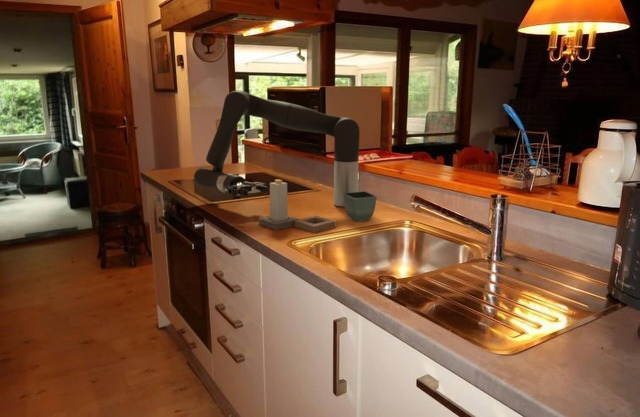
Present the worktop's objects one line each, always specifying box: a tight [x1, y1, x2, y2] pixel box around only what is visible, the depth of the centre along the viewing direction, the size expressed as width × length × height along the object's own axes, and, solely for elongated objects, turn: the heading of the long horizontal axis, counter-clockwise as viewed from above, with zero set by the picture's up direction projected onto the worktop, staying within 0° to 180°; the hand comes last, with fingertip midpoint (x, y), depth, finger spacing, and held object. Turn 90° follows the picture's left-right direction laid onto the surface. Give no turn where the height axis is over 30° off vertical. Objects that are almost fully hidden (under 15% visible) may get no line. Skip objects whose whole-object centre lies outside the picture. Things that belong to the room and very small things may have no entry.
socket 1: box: [258, 214, 300, 231], centre depth 161 cm, size 10×10×2 cm
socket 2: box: [293, 215, 337, 233], centre depth 158 cm, size 10×10×2 cm
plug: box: [269, 179, 288, 222], centre depth 159 cm, size 4×4×15 cm
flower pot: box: [343, 190, 378, 223], centre depth 166 cm, size 9×9×9 cm
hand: (257, 191), depth 167 cm, fingers open, 8 cm apart
